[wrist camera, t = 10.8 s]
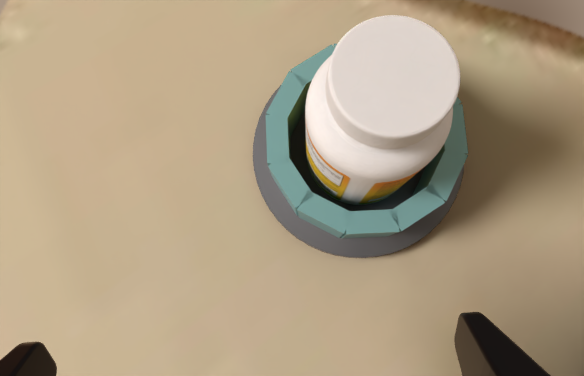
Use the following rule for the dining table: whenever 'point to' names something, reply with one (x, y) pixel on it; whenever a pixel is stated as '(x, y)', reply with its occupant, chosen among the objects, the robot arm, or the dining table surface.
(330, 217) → the teal round bowl
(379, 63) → the supplement bottle
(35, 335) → the dining table surface
